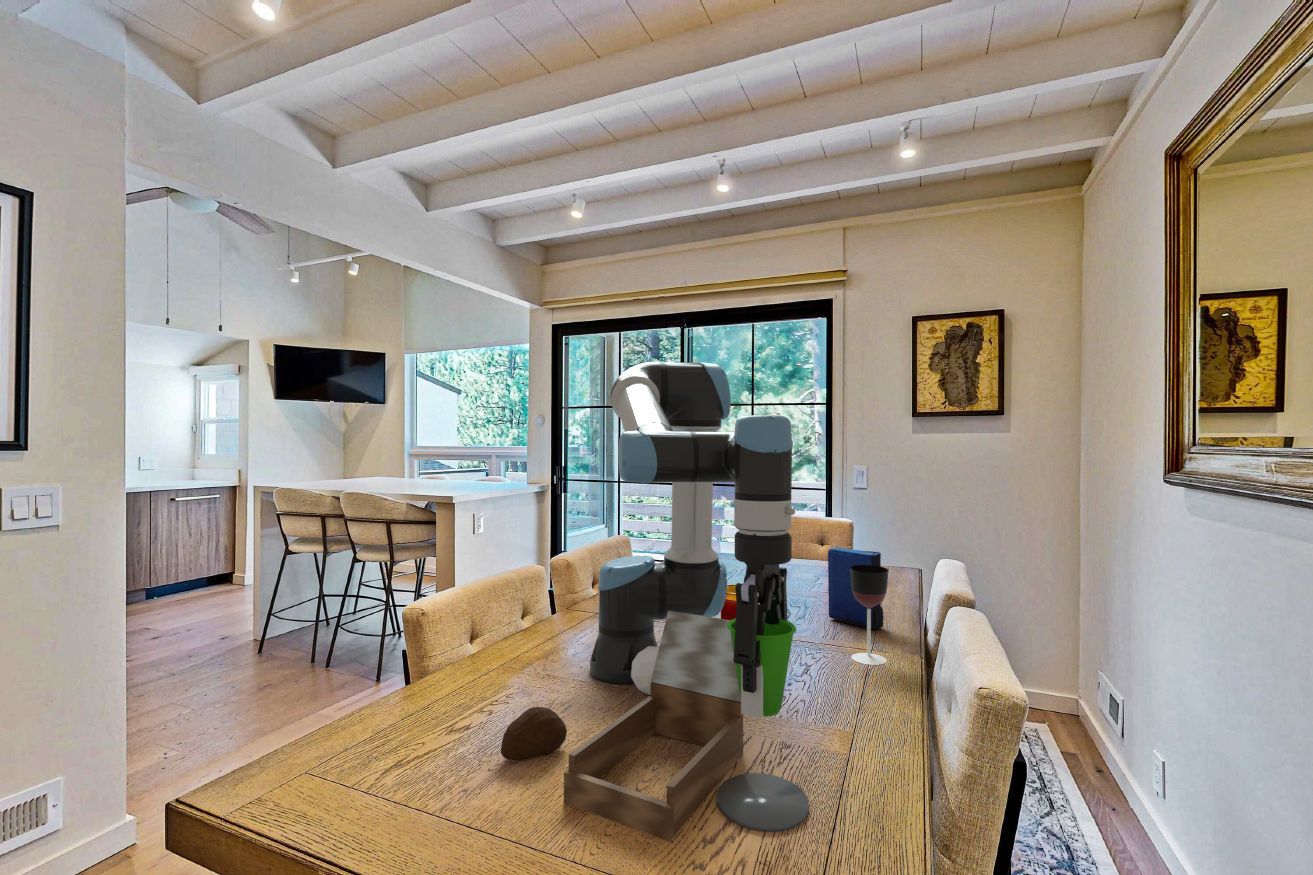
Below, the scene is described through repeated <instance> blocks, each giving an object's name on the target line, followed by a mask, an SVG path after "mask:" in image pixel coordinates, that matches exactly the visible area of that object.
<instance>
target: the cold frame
mask: <svg viewBox="0 0 1313 875" xmlns="http://www.w3.org/2000/svg"><path fill="white" fill-rule="evenodd" d="M730 620H731V619H724V618H719V617H718V618H717V617H706V616H700V615H694V614H687V613H681V612H675V611H668V614H667V618H666V619H665V621H664V626H663V629H662V630H663V631H662V635H661V639H660V643H659V646H658V647H659V651H658V655H657V659H656V663H655V667H654V671H653V675H652V679H651V682H652V683H650V695H649V696H648V697H646V698H644V699H643V700H642V701H640V702H639V703H638V704H636V705H635V706H633V707H632V708H631V709H630V710H628V711H627V712H625V713H623V714H622V715H621V716H620V717H618V718H617V719H616V720H614V721H613V722H611V723H610V724H608V725H607V726H605V727H604V728H603V729H602V730H600V731H599V732H597V733H596V734H594V735H593V736H592V737H590V738H589V739H588V740H586V741H585V742H584V743H582V744H580V745H579V746H578V747H576V748H575V749H573V750H572V751H570V752H569V753H568V768H567V769H566V770H565V771H564V772H563V803H564V804H566V805H568V806H572V807H575V808H577V809H580V810H582V811H585V812H588V813H591V814H594V815H596V816H599V817H601V818H605V819H608V820H610V821H613V822H616V823H618V824H621V825H623V826H626V827H627V828H628V827H629V828H631V829H634V830H637V831H639V832H643V833H645V834H647V835H651V836H654V837H656V838H659V839H660V840H661V839H662V840H664V841H666V842H671V841H672V840H673V838H674V837H675V836H676V835H677V834H678V832H679V831H680V830H681V829H682V828H683V826H684V825H685V824H686V823H687V822H688V820H690V818H691V817H692V815H693V814H694V813H695V812H696V811H697V810H698V809H699V807H700V806H701V805H702V804H703V802H704V801H705V800H706V799H707V798H708V796H709V795H710V794H711V793H712V791H713V790H714V789H715V788H716V787H717V786H718V784H719V783H720V782H721V781H722V779H723V778H724V777H725V776H726V775H727V774H728V772H729V771H730V770H731V769H732V768H733V766H734V765H735V764H736V763H737V762H738V761H739V759H740V758H741V757H742V755H743V754H744V714H741V700H740V693H739V686H738V679H737V673H736V666H735V663H734V661H733V658H734V652H733V645H732V639H731V632H730V630H729V629H728V628H727V624H728V622H729V621H730ZM655 734H657V735H661V736H665V737H668V738H671V739H675V740H679V741H684V742H687V743H691V744H694V745H698V746H700V747H701V746H702V748H701V749H700V751H698V753H696V754H695V755H694V756H693V758H692V759H691V760H689V761H688V763H687V764H685V766H684V767H683V768H682V769H681V770H680V771H679V772H678V773H677V774H675V776H674V777H673V778H672V779H671V780H670V781H669V782H668V783H667V784H666V786H665V787H666V800H663V799H660V798H657V797H653V796H651V795H648V794H644V793H642V792H638V791H635V790H633V789H630V788H627V787H624V786H621V785H617V784H614V783H611V782H609V781H605V780H604V779H602V778H604V777H605V776H606V775H607V774H608V773H610V772H611V771H612V770H613V769H614V768H616V766H619V764H621V763H622V762H623V761H624V760H625V759H626V758H628V757H629V756H630V755H632V753H633V752H635V751H636V750H637V749H638V748H639V747H641V746H642V745H643V744H644V743H645V742H647V741H648V740H649V739H651V737H653V736H654V735H655Z"/></svg>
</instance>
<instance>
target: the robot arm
mask: <svg viewBox="0 0 1313 875" xmlns="http://www.w3.org/2000/svg"><path fill="white" fill-rule="evenodd" d="M730 388H731V387H730V383H729V379H728V377H727V374H726V372H725V370H724V368H723V367H722V366H720V365H718V364H716V363H709V362H701V361H699V362H682V361H681V362H675V361H673V362H671V361H669V362H668V361H667V362H666V361H665V362H662V361H648V362H642V363H640V364H639V363H638V364H637V365H634V366H631V367H630V368H627V369H626V370H625V371H623V372H622V373H621V374H620V375H619V376H618V377H617V378H616V379H615V381H614V383H613V385H612V387H611V390H610V404H611V407H612V410H613V412H614V414H615V415H616V416H617V417H618V418H620V420H621V423H622V424H621V425H622V427H623V432H622V433H621V435H620V436H619V439H618V451H617V452H618V454H617V455H618V457H617V458H618V463H617V464H618V471H619V472H618V473H619V477H620V478H621V480H622V481H624V482H628V483H641V484H644V485H646V484H650V483H651V484H652V483H653V484H656V483H657V484H661V483H671V484H672V485H671V546H670V547H669V548H668V549H667V550H666V551H665V552H664V554H663V562H659V563H656V561H655V559H654V557H653V556H650V555H631V556H624V557H618V558H615V559H612V560H609V561H607V562H605V563H604V564H602V566H601V567H600V570H599V574H598V575H599V576H598V585H597V590H598V635H597V637H596V640H595V643H594V648H593V650H592V653H591V657H590V661H589V672H590V674H591V676H592V677H594V678H595V679H597V680H598V681H599V680H600V681H602V682H604V683H605V682H606V683H610V684H621V685H623V684H624V685H625V684H626V685H627V684H635V683H634V681H633V679H632V678H631V670H632V662H633V660H634V659H635V657H636V656H637V654H638V653H639V652H641V651H642V650H644V649H645V648H647V647H648V646H654V647H659V646H658V642H657V639H656V637H655V636H656V635H655V631H654V630H655V628H654V627H655V621H657V620H660V621H661V620H665V621H666V618H667V614H668V611H675V612H681V613H687V614H694V615H700V616H706V617H713V618H715V617H716V616H718V615H719V614H720V613H721V611H722V610H723V608H724V606H725V602H726V597H727V592H728V591H727V590H728V578H727V577H728V576H727V575H728V574H727V568H726V565H725V564H724V563H723V562H722V561H720V560H719V554H718V553H717V552H716V550H714V549H713V546H712V543H713V542H712V541H713V496H714V495H713V494H714V493H713V491H714V490H713V489H714V487H713V486H714V485H713V483H734V508H733V509H734V513H733V514H734V518H733V519H734V520H733V525H734V526H733V527H735V529H737V531H736V533H735V534H734V558H735V559H736V561H738V562H740V563H744V564H745V565H746V568H745V574H744V577H743V583H740V582H739V583H738V582H737V583H736V584H735V589H734V590H735V591H734V592H735V602H736V605H735V618H736V622H735V642H734V658H733V661H734V663H737V664H741V714H743V715H745V716H748V717H749V716H750V717H755V718H758V719H762V718H764V717H763V667H762V665H760V660H761V653H760V640H759V641H757V642H756V637H757V635H762V636H763V635H764V627H765V623H767V624H771V625H775V624H779V620H780V619H783V620H787V621H788V620H789V618H788V597H787V576H788V569H787V567H780V565H784V564H787V563H789V562H791V560H792V554H793V551H792V549H793V548H792V544H793V543H792V542H793V541H792V540H793V539H792V538H793V537H792V535H791V534H790V533H789V532H787V531H789V530H790V529H791V528H792V515H795V514H796V509H795V508H794V507H793V506H792V499H793V498H792V483H793V482H792V477H793V476H792V475H793V474H792V469H793V447H794V441H793V435H792V433H793V432H792V423H791V421H790V419H789V418H788V417H786V416H784V415H770V414H769V415H768V414H767V415H761V414H759V415H756V414H755V415H742V416H739V417H737V419H736V420H735V424H734V431H719V430H721V429H722V420H725V419H727V418H729V416H730V413H731V407H732V404H731V403H732V400H731V399H732V397H731V389H730Z"/></svg>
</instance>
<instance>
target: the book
mask: <svg viewBox="0 0 1313 875" xmlns="http://www.w3.org/2000/svg"><path fill="white" fill-rule="evenodd" d="M881 554H882V553H881V552H879V551H872V550H871V551H870V550H861V549H860V550H859V549H858V550H857V549H852V548H851V549H850V548H845V547H839V546H837V547H833V548H829V549H828V551H827V571H828V572H827V573H828V574H827V575H828V576H827V577H828V578H827V579H828V583H827V584H828V585H827V586H828V587H827V588H828V591H827V592H828V617H829V618H830V619H832V620H834V621H838V622H839V621H840V622H842V623H847V624H850V625H854V626H859V627H863V628H867V608H866V607H865V606H864V605H862V604H861V603H859V602H858V601H857V600H856V598H855V597H854V595H853V592H852V587H851V574H850V567H851V566H854V565H874V566H880V567H882V566H881V565H882V564H881V563H882V562H881V559H882V555H881ZM883 627H884V609H883V607H882V602H881V603H880V604H878V605H876V606H874V607H872V608H871V630H878V629H882V628H883Z"/></svg>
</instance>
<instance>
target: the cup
mask: <svg viewBox="0 0 1313 875" xmlns="http://www.w3.org/2000/svg"><path fill="white" fill-rule="evenodd" d="M729 620H730V621H729V622H728V624H727V628H728V629H729V630H730V632H731V639H732V645H733V652H734V642H735V622H736V617H735V618H732V619H729ZM796 632H797V627H796V625H795V624H794V623H792V622H791V621H787V620H783V619H780V620H779V624H775V625H771V624H767V623H765V627H764V635H763V636H762V635H757V637H756V642H757V641H759V640H760V653H761V660H760V665H762V667H763V717H762V718H765V717H766V718H767V717H773V716H776V715H778V714H779V713H780V711H781V709H782V706H783V700H784V699H783V698H784V693H785V687H786V680H787V673H788V668H789V662H790V657H791V656H790V655H791V651H792V650H791V649H792V645H793V644H792V643H793V639H794V638H793V637H794V634H795V633H796ZM735 666H736V673H737V679H738V686H739V693H740V700H741V664H737V663H735Z"/></svg>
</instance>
